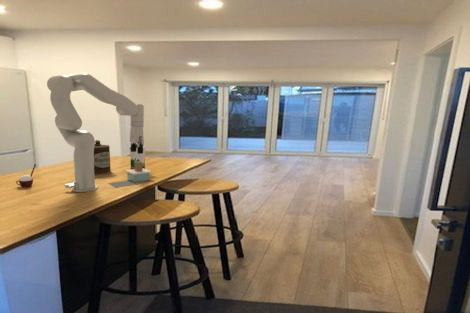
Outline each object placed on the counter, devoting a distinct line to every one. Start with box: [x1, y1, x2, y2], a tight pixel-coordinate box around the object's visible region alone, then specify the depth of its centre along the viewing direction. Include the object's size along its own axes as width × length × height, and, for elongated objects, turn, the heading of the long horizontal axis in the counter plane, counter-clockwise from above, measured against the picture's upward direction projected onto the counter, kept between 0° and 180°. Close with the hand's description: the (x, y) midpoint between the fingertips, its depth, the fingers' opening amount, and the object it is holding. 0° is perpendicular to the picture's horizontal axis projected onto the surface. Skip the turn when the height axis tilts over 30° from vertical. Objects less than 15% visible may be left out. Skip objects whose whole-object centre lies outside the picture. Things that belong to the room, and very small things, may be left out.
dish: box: [126, 172, 151, 183], centre depth 185 cm, size 10×10×5 cm
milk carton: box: [129, 143, 146, 170], centre depth 203 cm, size 9×9×20 cm
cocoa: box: [15, 164, 37, 188], centre depth 163 cm, size 10×6×12 cm, turn 93°
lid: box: [124, 161, 153, 175], centre depth 184 cm, size 12×12×6 cm
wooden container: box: [94, 139, 111, 175], centre depth 203 cm, size 15×15×22 cm
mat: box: [107, 179, 139, 189], centre depth 173 cm, size 13×13×1 cm
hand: (136, 152), depth 183 cm, fingers open, 9 cm apart
